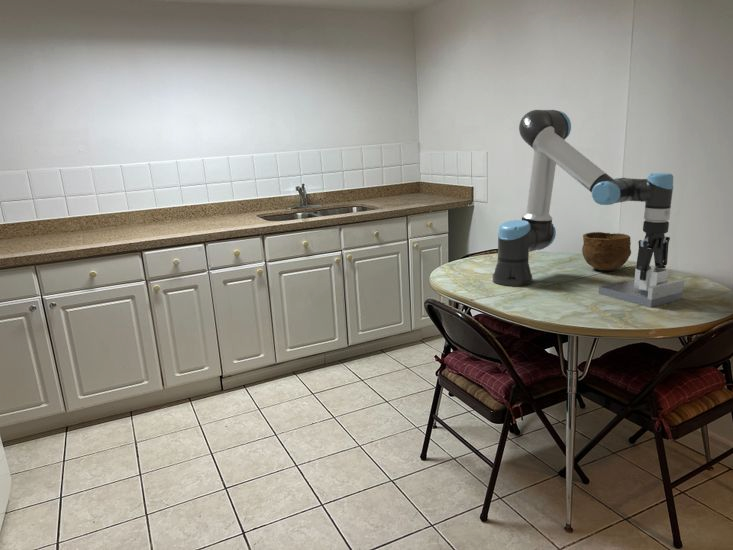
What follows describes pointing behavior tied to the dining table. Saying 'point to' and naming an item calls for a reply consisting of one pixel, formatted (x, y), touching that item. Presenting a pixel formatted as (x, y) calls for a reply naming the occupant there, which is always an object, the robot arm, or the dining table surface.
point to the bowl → (606, 250)
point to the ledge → (645, 292)
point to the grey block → (652, 277)
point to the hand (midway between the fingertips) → (649, 287)
